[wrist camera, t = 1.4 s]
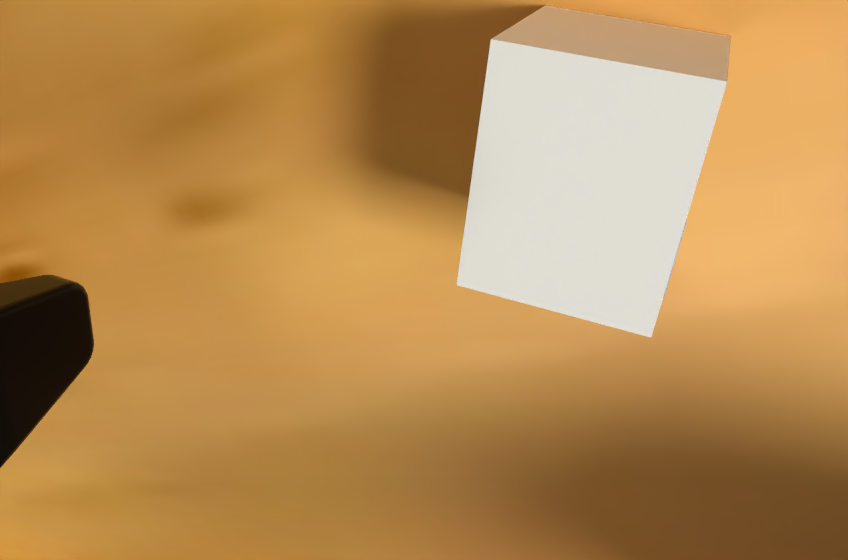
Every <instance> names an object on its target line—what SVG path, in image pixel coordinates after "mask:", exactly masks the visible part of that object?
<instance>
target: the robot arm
mask: <svg viewBox="0 0 848 560" xmlns="http://www.w3.org/2000/svg"><path fill="white" fill-rule="evenodd" d="M93 348H94V339H93V331H92V323H91V316H90V308H89V301H88V295H87V292H86V291H85V289H84V287H83V286H81V285H80V284H79V283H77V282H74V281H71V280H67V279H64V278H61V277H58V276H54V275H42V276H37V277H31V278H26V279H20V280H15V281H10V282H4V283H0V468H1V467H2V466H3V464H4V463H5V462H6V461H7V460H8V459H9V458H10V456H11V455H12V454H13V453H14V452H15V451H16V449H17V448H18V447H19V446H20V445H21V444H22V442H23V441H24V440H25V439H26V437H27V436H28V435H29V434H30V433H31V431H32V430H33V429H34V428H35V427H36V425H37V424H38V423H39V422H40V421H41V419H42V418H43V417H44V416H45V415H46V413H47V412H48V411H49V410H50V408H51V407H52V406H53V405H54V404H55V402H56V401H57V400H58V399H59V398H60V396H61V395H62V394H63V393H64V392H65V390H66V389H67V388H68V387H69V386H70V384H71V383H72V382H73V381H74V380H75V378H76V377H77V376H78V375H79V373H80V372H81V371H82V370H83V369H84V367H85V366H86V365H87V363H88V362H89V360H90V358H91V355H92V352H93Z"/></svg>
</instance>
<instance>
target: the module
mask: <svg viewBox="0 0 848 560" xmlns="http://www.w3.org/2000/svg"><path fill="white" fill-rule="evenodd" d="M730 40H731V36H728V35H722V34H716V33H710V32H704V31H698V30H692V29H686V28H680V27H673V26H667V25H661V24H655V23H649V22H643V21H637V20H631V19H625V18H619V17H613V16H607V15H601V14H595V13H589V12H583V11H577V10H571V9H565V8H558V7H552V6H546V5H545V6H543V7H542V8H540V9H539V10H537V11H535V12H534V13H532V14H531V15H529V16H527V17H526V18H524V19H523V20H521V21H519V22H518V23H516V24H514V25H513V26H511V27H510V28H508V29H506V30H505V31H503V32H502V33H500V34H498V35H497V36H495V37H494V38H492V39H491V42H490V49H489V56H488V63H487V70H486V78H485V85H484V92H483V99H482V106H481V114H480V121H479V128H478V135H477V142H476V150H475V157H474V164H473V171H472V178H471V186H470V193H469V200H468V207H467V214H466V222H465V229H464V236H463V243H462V250H461V258H460V265H459V272H458V279H457V285H458V286H462V287H466V288H469V289H473V290H477V291H480V292H484V293H488V294H492V295H495V296H499V297H503V298H506V299H510V300H514V301H517V302H521V303H525V304H529V305H532V306H536V307H540V308H543V309H547V310H551V311H554V312H558V313H562V314H565V315H569V316H573V317H577V318H580V319H584V320H588V321H591V322H595V323H599V324H602V325H606V326H610V327H614V328H617V329H621V330H625V331H628V332H632V333H636V334H639V335H643V336H647V337H652V333H653V330H654V327H655V323H656V320H657V317H658V313H659V310H660V307H661V303H662V300H663V298H664V295H665V292H666V289H667V285H668V282H669V279H670V275H671V272H672V269H673V265H674V262H675V258H676V255H677V252H678V248H679V245H680V242H681V238H682V235H683V232H684V228H685V225H686V220H687V216H688V212H689V209H690V205H691V202H692V199H693V195H694V192H695V189H696V185H697V182H698V178H699V175H700V172H701V168H702V165H703V162H704V158H705V155H706V151H707V148H708V145H709V141H710V138H711V135H712V131H713V128H714V124H715V121H716V118H717V114H718V111H719V108H720V104H721V101H722V98H723V94H724V91H725V87H726V84H727V78H728V65H729V53H730Z"/></svg>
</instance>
